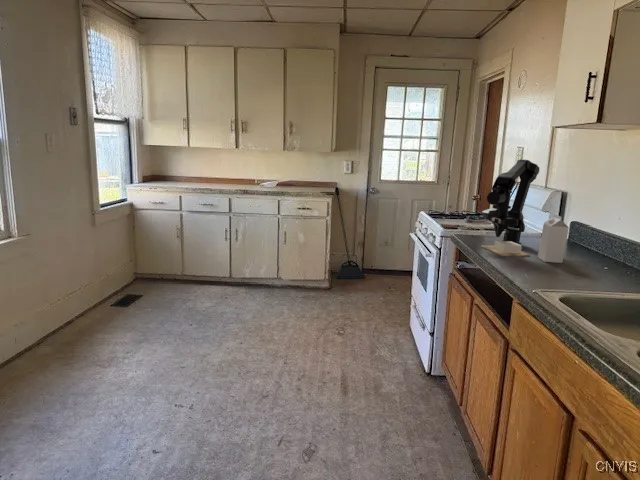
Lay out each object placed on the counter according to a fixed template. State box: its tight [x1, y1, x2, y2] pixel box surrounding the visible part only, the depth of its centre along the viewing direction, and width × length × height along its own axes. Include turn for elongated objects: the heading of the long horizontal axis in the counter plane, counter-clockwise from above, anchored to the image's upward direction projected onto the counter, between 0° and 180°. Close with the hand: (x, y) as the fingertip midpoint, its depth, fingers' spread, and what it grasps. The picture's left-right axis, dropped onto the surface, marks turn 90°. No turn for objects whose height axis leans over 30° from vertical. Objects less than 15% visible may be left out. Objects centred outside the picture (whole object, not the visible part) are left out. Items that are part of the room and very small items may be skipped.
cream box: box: [493, 240, 523, 253], centre depth 190 cm, size 8×4×8 cm
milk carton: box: [537, 213, 570, 264], centre depth 179 cm, size 7×7×19 cm
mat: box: [480, 244, 531, 257], centre depth 193 cm, size 14×16×1 cm
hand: (497, 236), depth 199 cm, fingers closed
